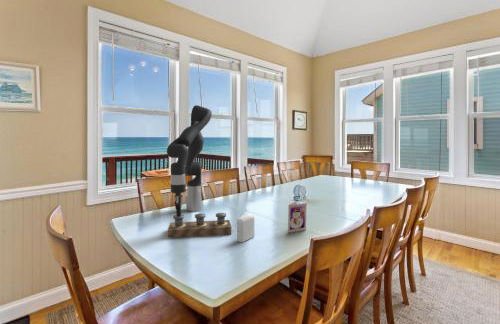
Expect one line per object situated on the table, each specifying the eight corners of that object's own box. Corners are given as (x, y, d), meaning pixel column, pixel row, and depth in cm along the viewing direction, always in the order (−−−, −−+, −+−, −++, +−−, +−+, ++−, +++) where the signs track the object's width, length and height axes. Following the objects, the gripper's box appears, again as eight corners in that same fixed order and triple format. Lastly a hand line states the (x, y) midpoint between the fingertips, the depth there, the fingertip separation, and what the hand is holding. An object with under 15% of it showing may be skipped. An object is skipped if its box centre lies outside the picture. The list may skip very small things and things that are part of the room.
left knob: (172, 227, 136) (172, 217, 136) (173, 223, 142) (173, 214, 141) (184, 226, 137) (183, 217, 137) (184, 223, 143) (184, 214, 142)
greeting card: (288, 233, 141) (289, 205, 139) (281, 228, 148) (282, 202, 146) (306, 230, 145) (307, 203, 144) (299, 226, 152) (299, 200, 151)
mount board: (167, 238, 133) (167, 229, 133) (170, 229, 145) (170, 222, 144) (231, 234, 138) (231, 226, 138) (229, 226, 150) (229, 219, 150)
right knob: (215, 225, 140) (215, 215, 139) (215, 221, 145) (215, 212, 145) (226, 224, 141) (226, 215, 140) (225, 221, 146) (225, 212, 146)
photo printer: (242, 243, 127) (242, 217, 126) (235, 240, 130) (235, 216, 129) (255, 237, 135) (255, 213, 134) (249, 235, 138) (249, 211, 137)
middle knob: (194, 226, 138) (194, 216, 138) (195, 222, 143) (194, 213, 143) (205, 225, 139) (205, 216, 138) (205, 222, 144) (205, 213, 144)
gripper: (184, 185, 131) (185, 219, 133) (186, 180, 144) (186, 211, 146) (168, 185, 130) (169, 220, 132) (172, 181, 143) (172, 212, 145)
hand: (178, 215), depth 139 cm, fingers closed
